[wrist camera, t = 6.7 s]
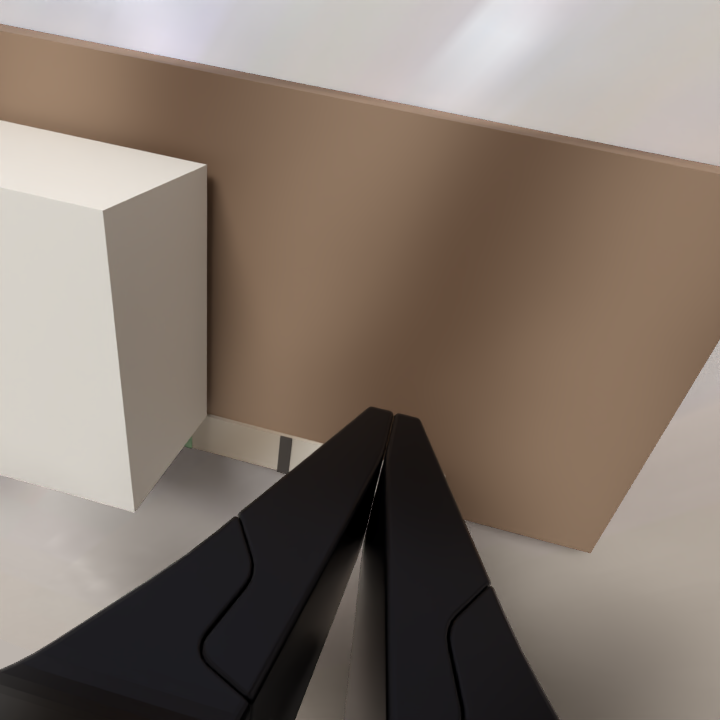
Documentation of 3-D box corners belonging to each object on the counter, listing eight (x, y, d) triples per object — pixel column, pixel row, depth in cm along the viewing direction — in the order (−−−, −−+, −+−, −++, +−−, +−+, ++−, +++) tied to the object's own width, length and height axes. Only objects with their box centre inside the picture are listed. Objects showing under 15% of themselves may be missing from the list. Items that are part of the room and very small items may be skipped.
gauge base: (779, 178, 9) (813, 193, 8) (583, 522, 14) (591, 557, 13) (-304, -36, 11) (-377, -44, 10) (-151, 331, 16) (-192, 350, 15)
